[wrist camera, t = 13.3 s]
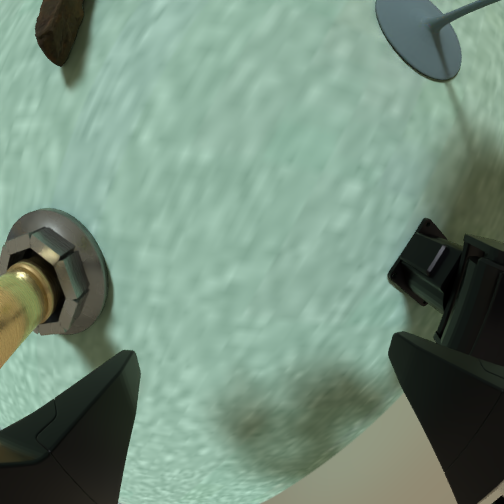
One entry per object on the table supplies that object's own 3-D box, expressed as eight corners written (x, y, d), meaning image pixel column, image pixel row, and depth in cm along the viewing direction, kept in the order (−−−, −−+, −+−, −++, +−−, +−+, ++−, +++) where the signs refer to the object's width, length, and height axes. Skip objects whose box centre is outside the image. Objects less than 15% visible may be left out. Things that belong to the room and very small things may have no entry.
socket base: (129, 254, 20) (114, 270, 17) (86, 349, 22) (72, 371, 19) (29, 184, 18) (4, 189, 14) (2, 286, 20) (-18, 300, 16)
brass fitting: (81, 289, 20) (16, 363, 10) (48, 311, 20) (-13, 380, 10) (50, 238, 18) (-33, 288, 9) (19, 265, 18) (-54, 318, 9)
